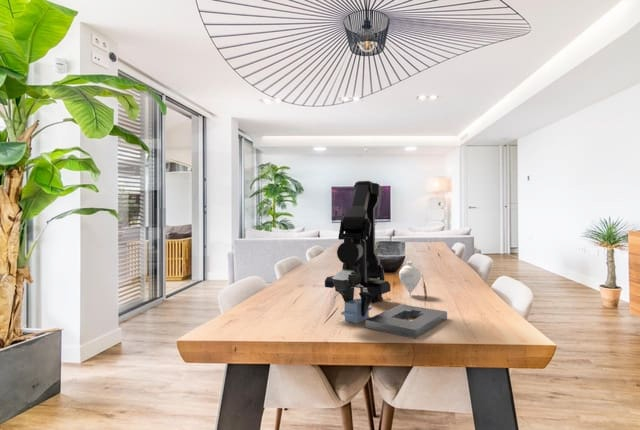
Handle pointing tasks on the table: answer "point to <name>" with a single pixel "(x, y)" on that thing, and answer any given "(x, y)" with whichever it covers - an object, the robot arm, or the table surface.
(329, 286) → the robot arm
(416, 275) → the spinning top
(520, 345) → the table surface
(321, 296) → the table surface
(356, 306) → the servo
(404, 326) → the chassis plate
